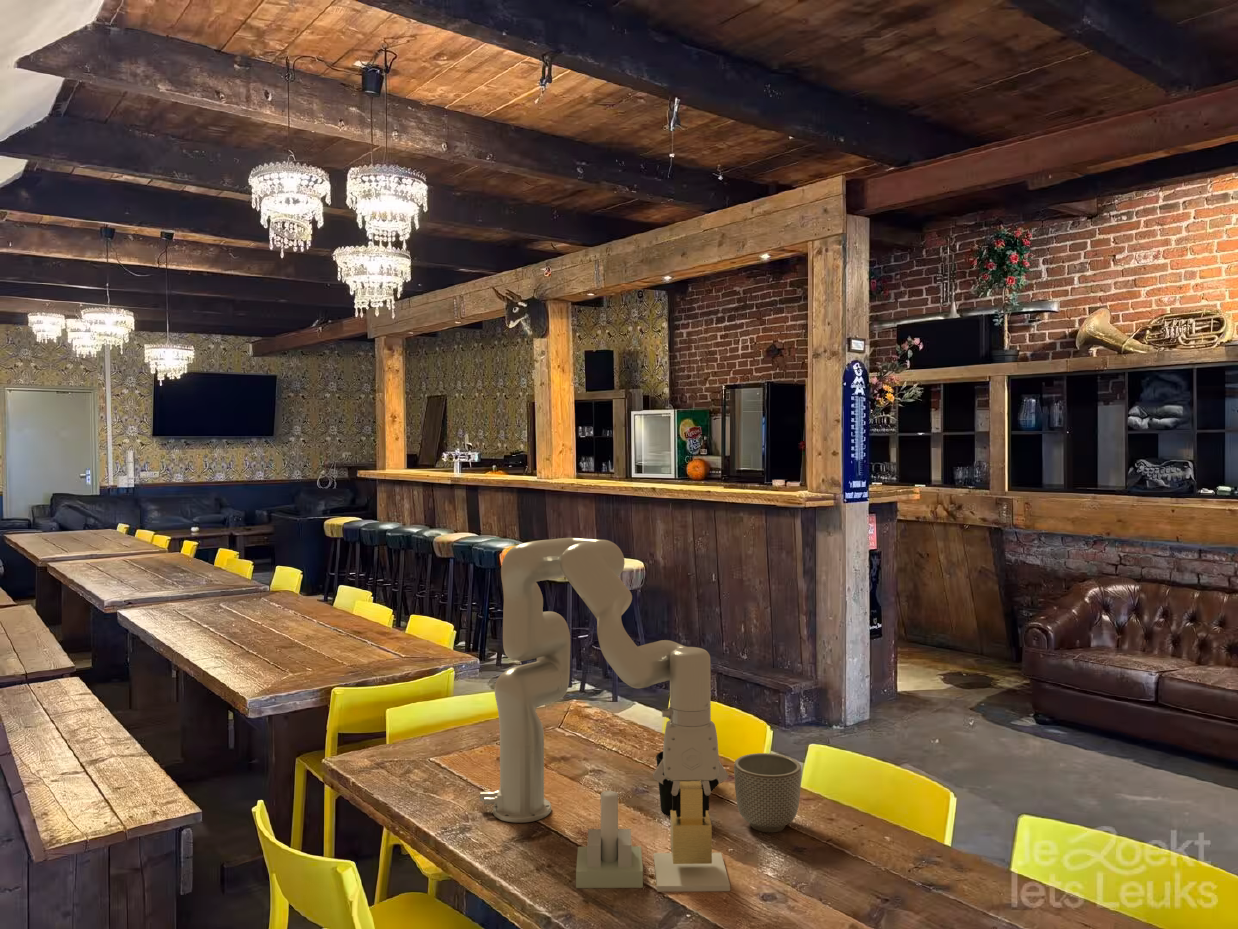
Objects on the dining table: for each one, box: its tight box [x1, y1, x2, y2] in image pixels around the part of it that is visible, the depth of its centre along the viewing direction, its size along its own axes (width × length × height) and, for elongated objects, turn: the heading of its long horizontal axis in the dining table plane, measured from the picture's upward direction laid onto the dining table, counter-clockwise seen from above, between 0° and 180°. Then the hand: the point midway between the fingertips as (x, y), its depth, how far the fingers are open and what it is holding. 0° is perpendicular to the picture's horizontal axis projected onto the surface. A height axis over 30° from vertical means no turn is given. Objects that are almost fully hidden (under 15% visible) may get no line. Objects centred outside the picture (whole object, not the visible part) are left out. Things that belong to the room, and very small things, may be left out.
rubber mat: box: [653, 852, 731, 893], centre depth 166 cm, size 13×13×1 cm
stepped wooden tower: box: [669, 781, 713, 864], centre depth 166 cm, size 7×7×13 cm
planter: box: [733, 752, 802, 833], centre depth 187 cm, size 14×14×13 cm
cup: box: [655, 751, 672, 816], centre depth 195 cm, size 8×8×12 cm
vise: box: [575, 790, 644, 889], centre depth 166 cm, size 12×10×15 cm
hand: (690, 813), depth 166 cm, fingers closed on stepped wooden tower, 4 cm apart
